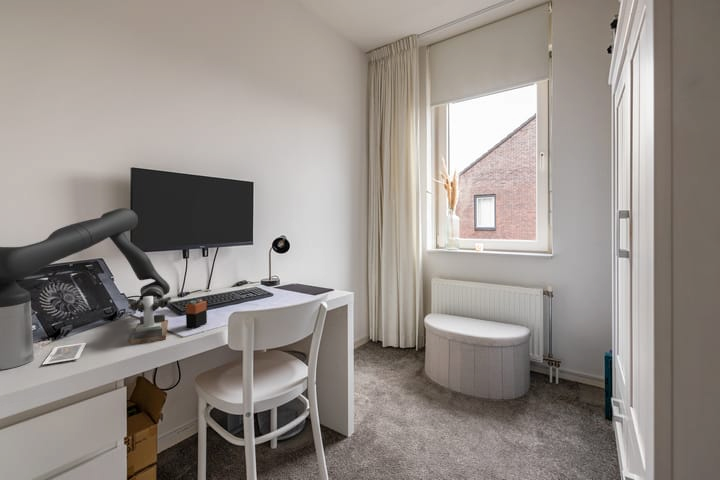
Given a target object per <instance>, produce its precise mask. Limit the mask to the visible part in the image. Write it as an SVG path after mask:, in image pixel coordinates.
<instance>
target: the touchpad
mask: <svg viewBox="0 0 720 480" xmlns="http://www.w3.org/2000/svg"><path fill="white" fill-rule="evenodd" d="M86 344H87V342H81V343H74V344H68V345H67V344H65V345H61V346H54V348H53V349H52V351H51V352H50V353H49V355H48V356H47V358H46V359H45V360H44V362H43V363H42V365H47V364H54V363H55V364H56V363H60V362H67V361H72V360H78V359H79V358H80V356H81V354H82V352H83V350H84V349H85V346H86Z"/></svg>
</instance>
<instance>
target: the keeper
mask: <svg viewBox="0 0 720 480" xmlns="http://www.w3.org/2000/svg"><path fill="white" fill-rule="evenodd" d="M142 313H143V316H144V325H138V326H137V325H136V326H137V328H136V327H135V328H136V330H144V329H152V328H159V327H161V323H154V315H155V311H153V296H146V297H143V312H142Z"/></svg>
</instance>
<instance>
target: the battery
mask: <svg viewBox="0 0 720 480" xmlns="http://www.w3.org/2000/svg"><path fill="white" fill-rule="evenodd" d="M207 310H208V309H207V301H206V300H202V299H201V298H198V299H197V300H191V301H190V302H189V303H186V304H185V325H186V326H185V327H186V328H188V329H197V328H198V329H199V328H200V327H202V326H204V325H207V323H208V322H207V321H208V319H207V318H208V315H207Z"/></svg>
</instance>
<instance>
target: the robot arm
mask: <svg viewBox="0 0 720 480" xmlns="http://www.w3.org/2000/svg"><path fill="white" fill-rule="evenodd" d="M138 222H139V218H138V214H137V213H136V212H135V211H134V210H132V209H131V208H127V207H126V208H125V207H121V208H116V209H113V210H110V211H107V212H104V213H103V214H101V216H100V217H98V218H97V217H96V218H92V219H88V220H82V221H79V222H75V223H72V224H69V225H66V226H62V227H60V228H58V229H56V230H54V231H53V232H51V233H50V234H49V236H48V237H47V238H45V239H44V240H40V241H38V242H35V243H31V244H27V245H22V246H0V370H8V369H12V368H13V369H14V368H17V367H20V366H23V365H26V364H28V363H31V362H32V361H33V360H34V359H35V357H34V356H35V355H34V353H35V351H34V339H33V338H34V333H33V318H32V301H31V300H32V299H31V293H30V291H28V290H27V289H25V288H22V287H21V286H20V285H19V284H18V282H17V280H23V279H25V278H27V277H30V276H31V275H33V274H35V273H37V272H39V271H40V270H42V269H43V268H44V269H45V268H46V267H47V266H49V265H52V264H53V263H55V262H57V261H60V260H63V259H65V258H67V257H69V256H72V255H75V254H77V253H80V252H82V251H84V250H86V249H89V248H91V247H93V246H95V245H97V244H99V243H102V242H103V241H105V240H106V239H110V240H111V241H112V242H113V244H114V245H115V246H116V247H117V249H118V250H119V251H120V253H121V254H122V255H123V256H124V258H125V259H126V260H127V261H128V263H129V265H130V267H131V269H132V271H133V272H134V274H135V277H136V278H137V279H138V280H139V281H145V280H147V281H148V280H152V281H153V280H154V281H153V282H150V283H147V284H145V285H143V286H141V288H140V291H139V292H140V297H138V298H139V299H137V300H136V301H134V300H129V301H127V302H128V303H127V304H128V307H127V308H128V309H129V310H132V311H133V312H134V311H137V312H140V313H143V297H146V296H153V311H154V312H156V310H159V308H161V309H164V308H166V307H168V306H170V305H172V297H170V296H168V297H165V298H164V296H165V295H167V294H169V293H170V291H171V288H170V285H169V283H168V281H166V280H165V278H163V277H162V276H161V275H160V274H159V273H158V272H157V270H156V268H155V266H154V265H153V263H152V261H151V259H150V258H149V255H148V254H146V252H145V251H143V250H141V249H140V248H139V247H137V246H136V245H135V244H134V243H133V242H131V241H130V239H129V238H128V237H127V235H126V232H130V231H132V230H134V228H136V227H137V226H138Z"/></svg>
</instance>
